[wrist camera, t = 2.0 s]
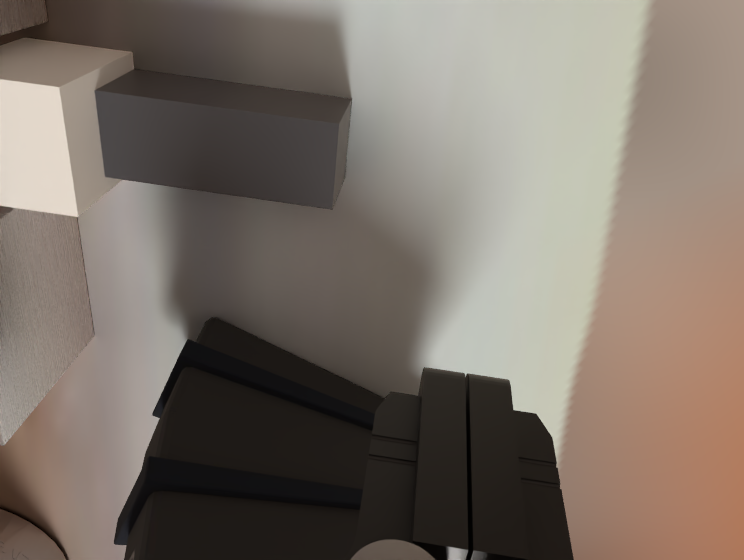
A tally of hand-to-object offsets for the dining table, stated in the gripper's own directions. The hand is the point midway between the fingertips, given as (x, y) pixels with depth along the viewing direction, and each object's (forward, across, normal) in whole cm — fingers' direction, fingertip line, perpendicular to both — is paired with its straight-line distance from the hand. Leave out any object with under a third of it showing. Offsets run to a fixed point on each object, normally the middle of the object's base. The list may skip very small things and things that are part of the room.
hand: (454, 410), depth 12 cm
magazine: (+14, +4, +13) cm, 19 cm away
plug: (+14, +10, 0) cm, 17 cm away
